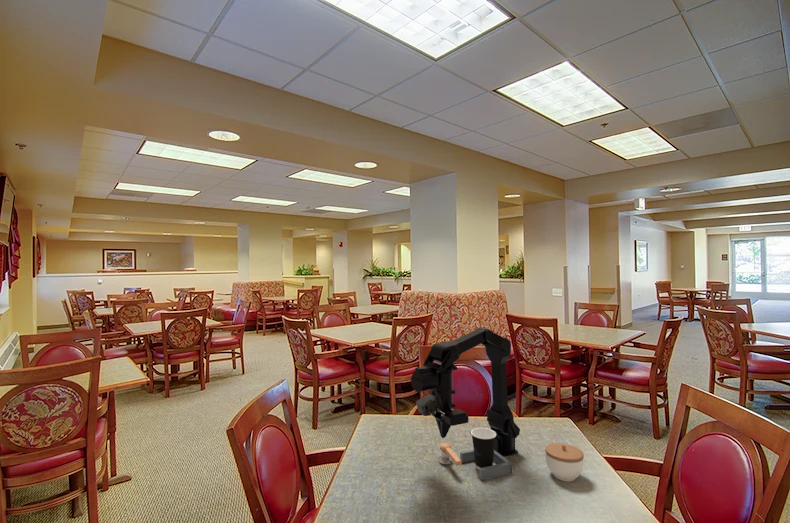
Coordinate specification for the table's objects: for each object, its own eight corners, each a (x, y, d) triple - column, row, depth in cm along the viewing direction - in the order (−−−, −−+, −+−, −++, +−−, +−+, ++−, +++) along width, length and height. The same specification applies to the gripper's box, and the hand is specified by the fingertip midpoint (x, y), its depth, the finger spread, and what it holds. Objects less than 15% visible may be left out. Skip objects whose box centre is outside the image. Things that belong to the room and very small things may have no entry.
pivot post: (448, 456, 132) (448, 445, 132) (455, 463, 127) (455, 452, 127) (435, 458, 130) (435, 447, 130) (442, 466, 126) (442, 454, 126)
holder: (489, 455, 132) (489, 446, 132) (512, 473, 121) (512, 463, 121) (460, 461, 129) (460, 451, 129) (481, 480, 117) (481, 470, 117)
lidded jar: (581, 470, 122) (581, 440, 123) (586, 488, 112) (585, 455, 112) (544, 464, 126) (544, 435, 126) (546, 482, 116) (545, 450, 116)
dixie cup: (467, 469, 123) (467, 434, 123) (476, 459, 130) (475, 425, 130) (492, 476, 119) (492, 440, 119) (499, 465, 126) (499, 430, 126)
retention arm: (438, 447, 130) (438, 443, 130) (448, 445, 131) (448, 442, 131) (453, 465, 118) (453, 461, 118) (464, 464, 119) (464, 460, 119)
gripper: (405, 381, 125) (405, 430, 124) (436, 399, 108) (436, 456, 107) (435, 377, 129) (435, 424, 129) (469, 393, 112) (469, 448, 112)
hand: (443, 437), depth 119 cm, fingers closed
